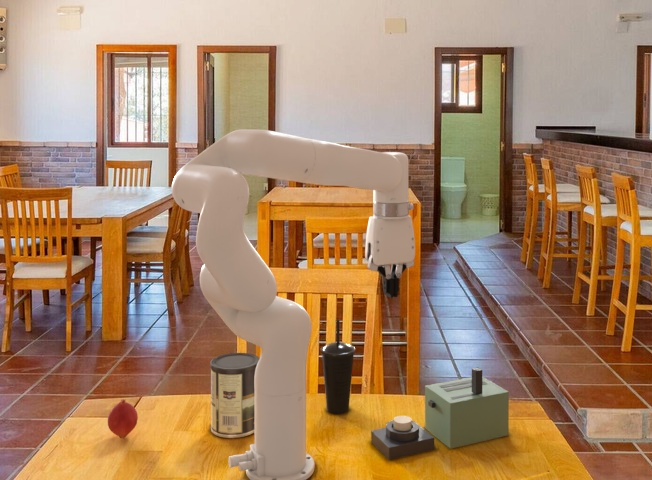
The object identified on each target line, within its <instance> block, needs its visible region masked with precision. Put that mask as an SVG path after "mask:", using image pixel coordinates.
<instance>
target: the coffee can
mask: <svg viewBox="0 0 652 480" xmlns="http://www.w3.org/2000/svg"><path fill="white" fill-rule="evenodd" d="M259 359H260V357H259V356H258V355H255V354H253V353H247V352H231V353H224V354H221V355H218V356H215V357H214V358H212V359H211V360H210V362H209V365H210V366H209V367H210V406H211V407H210V419H211V420H210V431H211V433H212V434H214V436H217V437H219V438H223V439H238V438H244V437H248V436H251V435H253V434H255V396H254V376H255V370H256V366H257V364H258V361H259Z"/></svg>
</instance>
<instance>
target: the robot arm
mask: <svg viewBox="0 0 652 480" xmlns="http://www.w3.org/2000/svg"><path fill="white" fill-rule="evenodd" d="M244 175H247V176H255V177H261V178H267V179H268V178H269V179H274V180H282V181H289V182H294V183H295V182H297V183H301V184H308V185H318V186H326V187H327V186H331V187H333V186H334V187H335V186H336V187H337V186H339V187H349V188H351V189H357V190H365V191H366V190H368V191H372V194H373V196H372V199H373V201H372V208H373V209H372V210H373V211H372V212H373V213H372V214H373V215H371V216H369V218H368V223H367V228H366V233H365V249H364V258H365V261H367V265H366V269H367V270H369V271H371V272H372V271H373V272H378V274H380V276H381V277H382V291H383V293H384V296H386V297H388V298H390V299H391V298H398V297H399V295H398V293H399V292H400V278H402V274H403V273H404V272H405V270H406V269H409V268H412V267H414V266H415V258H416V257H415V256H416V239H415V229H414V224H413V219H412V216H411V215H410V211H411V210H414V207H415V206H414V203H412V202H411V203H410V201H409V157H408V155H407V154H406V153H404V152H399V151H383V152H381V151H376V150H371V149H367V148H359V147H356V146H355V147H354V146H348V145H343V144H339V143H335V142H330V141H325V140H324V141H323V140H320V139H313V138H308V137H304V136H299V135H294V134H289V133H285V132H279V131H274V130H269V129H250V128H249V129H248V128H247V129H245V128H241V129H235V130H233V131H231V132H228V133H227V134H225V135H224V136H222V137H220V138H219V139H217V140H216V141H215V142H214V143H212V144H211V145H210V146H208V147H206V148H205V149H204V150H203V151H201V152H200V153H198V155H196V156H195V157H193V158H192V159H191V160H189V161H188V162H187V163H186V164H184V165H183V166H182V167H181V168H180V169H179V170H178V171H177V172H176V174H175V175H174V176H173V177H174V178H173V179H172V183H171V195H172V198H173V199H174V202H175V203H176V204H177V205H178V206H179V207H180V208H181V209H183V210H186V211H188V212H191V213H195V214H196V213H197V214H200V215H199V218H198V223H197V229H196V233H195V247H196V252H197V254H198V257H199V259H200V261H202V263H203V265H202V266H201V269H200V272H199V287H200V290H201V293H202V295H203V297H204V299H205V300H206V301H207V302H208V304H209V305H210V306H211V307H212V309H213V310H214V312H215V313H216V314H217V315H218V317H219V318H220V319H221V320H222V321H223V323H224V324H225V325H226V326H227V328H228V329H229V330H230V331H231V332H232V333H233V334H234V335H235V336H236V337H237V338H239V339H241V340H243V341H246V342H247V343H249V344H253V345H255V346H257V347H259V348H261V353H260V357H259V358H260V359H259V361H258V364H257V366H256V370H255V376H254V396H255V432H254V443H251V444H249V450H245V451H244V453H241V454H234V455H229V456H228V461H227V463H228V467H229V468H230V469H232V468H236V467H238V470H239V472H243V471H245V474H246V477H247V478H248V479H249V480H308V479H309V478H310V477H311V476H312V475H313V474H314V472H315V465H316V464H315V459H314V458H313V456H311V455H310V454H309V453H307V365H308V364H307V361H308V352H309V347H310V342H311V337H312V330H313V329H312V328H313V327H312V319H311V316H310V314H309V313H308V312H307V310H306V309H305V308H304V307H303V306H302V305H301V304H299V303H297V302H295V301H293V300H291V299H287V298H284V297H281V296H278V294H277V293H278V285H277V281H276V278H275V275H274V273H273V272H272V271H271V269H270V268H269V266H268V265H267V264H266V262H265V261H264V259H263V258H262V257H261V255H260V254H259V253H258V251H257V250H256V248H255V247H254V245H253V244H252V242H251V241H250V240H249V238H248V237H247V235H246V232H245V227H244V221H245V220H244V219H245V215H246V211H247V208H248V204H249V200H250V187H249V183H248V181H247V179H246V177H245V176H244Z"/></svg>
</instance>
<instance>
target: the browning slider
mask: <svg viewBox="0 0 652 480" xmlns="http://www.w3.org/2000/svg"><path fill="white" fill-rule="evenodd" d="M482 376H483V369H481V368H480V367H473V368H471V377H472V392H473V393H474V394H481V393H482Z"/></svg>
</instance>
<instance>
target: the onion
mask: <svg viewBox="0 0 652 480" xmlns="http://www.w3.org/2000/svg"><path fill="white" fill-rule="evenodd" d="M138 415H139V414H138V411H137V410H136V408H135V406H133V405H132V404H131V403H129V402H127V399H126V398H121V400H119V402H118V403H117V404H115V405H114V406H113V408H112V409H111V410H110V412H109V413H108V416H107V426H108V430H109V431H110V432H111V433H113V434H114V435H115V436H117V437H119V438H120V439H125V438H126V437H127V436H128V435H129V434H130V433H131V432H132V431H133V430H134V429H135V428H136V426H137V424H138V419H139V416H138Z"/></svg>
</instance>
